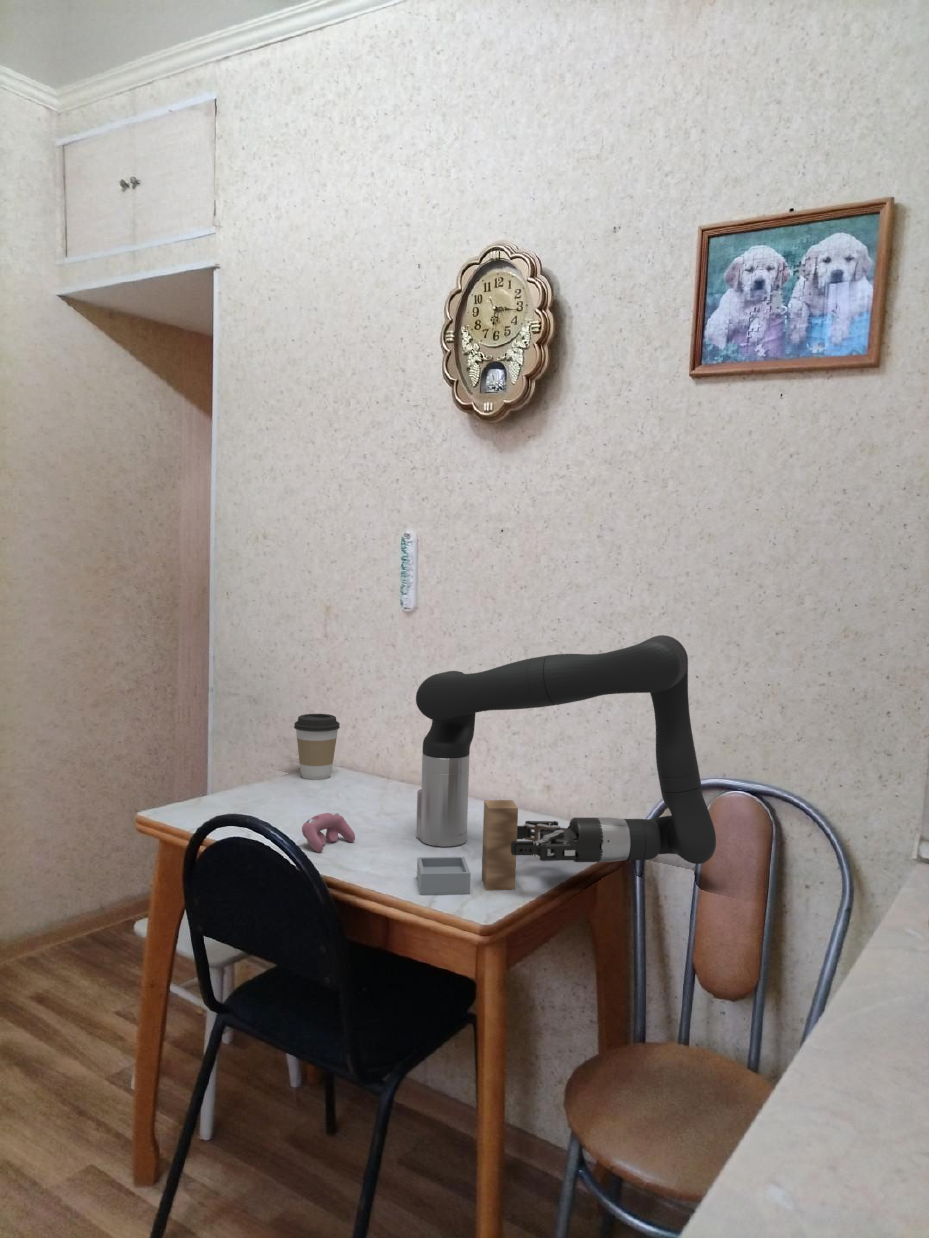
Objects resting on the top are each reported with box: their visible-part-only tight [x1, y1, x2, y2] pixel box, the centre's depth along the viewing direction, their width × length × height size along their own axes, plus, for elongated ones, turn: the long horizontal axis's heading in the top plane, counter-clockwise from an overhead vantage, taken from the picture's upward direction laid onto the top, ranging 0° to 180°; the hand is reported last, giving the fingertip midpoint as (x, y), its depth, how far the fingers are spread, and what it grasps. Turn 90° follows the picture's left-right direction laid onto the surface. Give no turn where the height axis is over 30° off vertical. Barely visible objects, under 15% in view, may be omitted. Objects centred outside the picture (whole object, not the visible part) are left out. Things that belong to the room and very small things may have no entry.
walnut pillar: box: [481, 799, 519, 891], centre depth 154 cm, size 5×5×14 cm
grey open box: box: [416, 856, 471, 896], centre depth 153 cm, size 8×8×4 cm
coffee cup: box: [293, 713, 341, 781], centre depth 224 cm, size 11×11×15 cm
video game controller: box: [301, 812, 356, 853], centre depth 173 cm, size 10×5×7 cm, turn 141°
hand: (506, 840), depth 154 cm, fingers open, 8 cm apart
